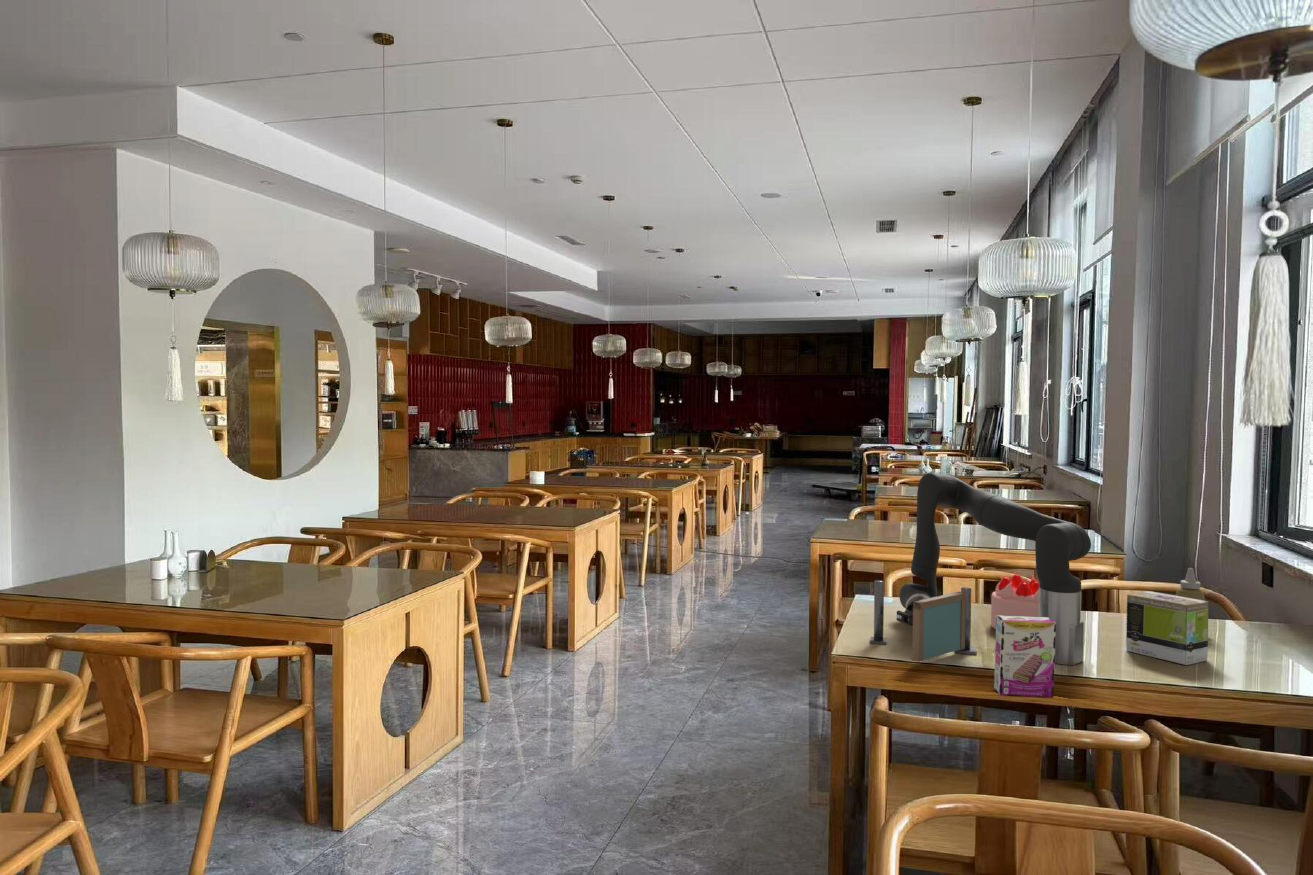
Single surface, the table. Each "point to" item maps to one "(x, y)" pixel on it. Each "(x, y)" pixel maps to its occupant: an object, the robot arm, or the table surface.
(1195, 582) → the squeeze bottle
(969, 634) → the gate posts
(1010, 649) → the candy bar box
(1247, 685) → the table surface
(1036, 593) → the cake
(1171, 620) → the tea box
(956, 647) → the gate leaf
